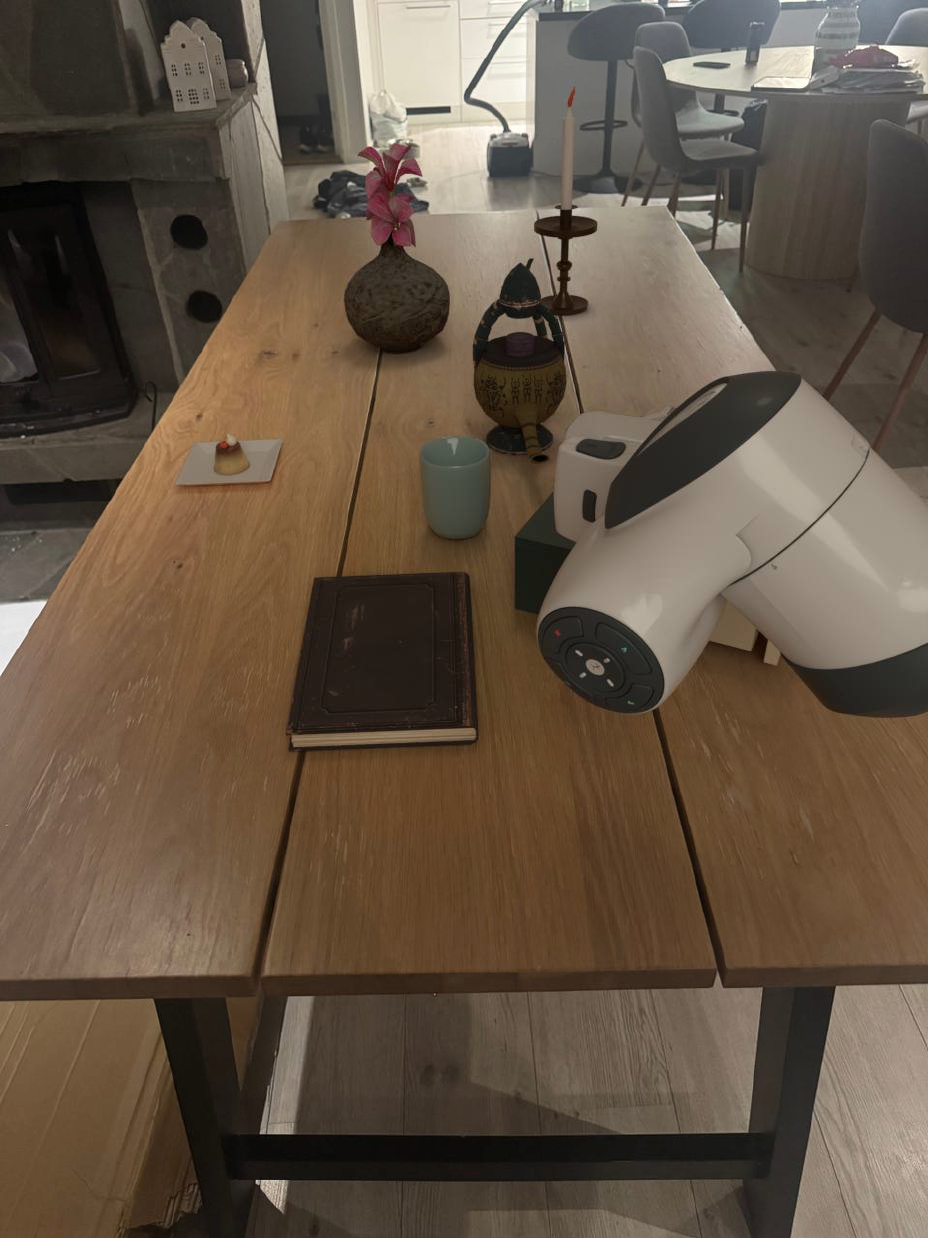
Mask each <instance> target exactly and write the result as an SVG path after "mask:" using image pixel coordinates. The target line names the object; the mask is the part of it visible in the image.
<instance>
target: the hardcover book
mask: <svg viewBox="0 0 928 1238" xmlns="http://www.w3.org/2000/svg"><path fill="white" fill-rule="evenodd" d="M471 590H472V589H471V577H470V575H469V573H467V572H466V571H445V572H444V571H441V572H418V573H395V574H393V573H392V574H391V573H390V574H368V575H345V576H344V575H343V576H342V575H341V576H340V575H339V576H319V577H313V583H312V588H311V593H310V599H309V603H308V608H307V609H308V610H307V614H306V620H305V625H304V631H303V636H302V641H301V646H300V652H299V657H298V658H299V659H298V663H297V667H296V672H295V673H296V674H295V679H294V683H293V690H292V695H291V699H290V706H289V711H288V716H287V721H286V727H285V736H290V740H289V745H288V752H289V753H295V752H317V751H341V750H343V751H344V750H364V749H365V750H366V749H367V750H369V749H393V748H416V747H417V748H419V747H420V748H421V747H441V746H465V745H469V746H470V745H473V744H475V743H476V742H477V741H478V740H479V719H478V718H479V717H478V702H477V685H476V684H477V683H476V666H475V665H476V663H475V647H474V626H473V612H472V611H473V609H472V596H471V595H472V592H471Z"/></svg>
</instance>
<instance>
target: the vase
mask: <svg viewBox="0 0 928 1238" xmlns="http://www.w3.org/2000/svg"><path fill="white" fill-rule="evenodd" d="M412 147H413V145H411V144H408V145H407V146H405V145H404V144H400V143H397V142H393V143H392V144H391V147H390V149H389V153H386V152H384V151H382V154H381V155H380V153H379V152H378V150H377V149H375V148H374V147H373V146H372V145H371V146H366V147H365V148H364V149H362V150H360V152H358V153H357V157H361V158H364V159H366V160H368V161H370V162H371V163H372V164H374V167H373V168H372V170H370V171H369V172H368V173H367V174H366V176H365V179H364V184H365V185H364V186H365V192H366V197H367V199H368V200H367V202H366V210H365V217H366V218H365V221H370V220H371V222H370V224H371V225H370V237H371V238H372V240H373V242H374V243H375V245H376V246H377V247H380V249H379V252H378V254H377V255H376V256H375V257H374V258H373V259H372V260H370V261H369V262H366V264H364V265H363V266H362V267H360V268H359V269H358V270H357V271H356V272H355V273H354V275H353V276H352V277H351V278H350V280H349V282H348V283H347V285H346V287H345V289H344V295H343V296H344V297H343V303H344V310H345V315H346V319H347V321H348V323H349V325H350V326H351V328H352V330H353V331H354V333H355V335H356V336H357V337H359V338H360V339H362V340H364V341H365V342H367V343H369V344H371V345H372V346H374V347H377V348H378V349H379V348H380V350H381V351H382V352H384V353H385V354H389V355H404V354H410V353H414V352H416V351H418V350H420V349H421V347H422V346H423V345H424V344H426V343H428V342H430V341H431V340H434V338H436V337H437V336H438V335H439V334H440V333H442V332H443V331H444V330H445V327H446V324H447V322H448V319H449V315H450V306H451V294H450V289H449V285H448V283H447V282H446V280H445V279H444V278H443V276H442V275H441V274H440V273H438V272H437V270H435V269H434V268H433V267H431V266H430V265H428V264H426V263H424V262H422V261H420V260H418V259H416V258H413V257H412V256H410V255H409V254H408V253H407V251H406V249H405V247H412V246H413V247H414V248H416V247H417V243H416V231H415V225H414V222H413V220H412V219H411V217H412V216H413V214H414V212H415V208H414V207H413V206H412V205H411V204H410V201H412V200H415V199H417V196H415V195H412V194H407V193H403V192H398V193H397V194H395V192H396V191H395V190H396V188H397V185H398V183H399V181H400V179H401V177H403V176H404V175H413V176H418V177H422V178H423V173H422V170H421V168H420V165H419V163H418V161H417V159H416V158H415V157H412V156H410V157H406V159H404V160H403V158H404V156H405V155H406V154H407V153H408V152H409V151H411V148H412ZM402 160H403V161H402ZM399 166H400V167H399Z"/></svg>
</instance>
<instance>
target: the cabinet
mask: <svg viewBox="0 0 928 1238" xmlns="http://www.w3.org/2000/svg"><path fill="white" fill-rule="evenodd" d="M576 543H577V542H575V541H572V540H570V539H568V538H566V537H564V536H562V535H561V534H559V533H558V532H557V530H556V525H555V516H554V490H553V491H552V492H551V493H550V494H549V496H548V497H546V499H545V500H544V501H543V502H542V504H541V505H540V506H539V507H538V508H537V510H536V511H535V512H534V513H533V514H532V515H531V517H530V518H528V520H527V521H526V522H525V524H523V526H522V527H521V528H520V529H519V531H518V532H517V533H516V534H515V535H514V609H515V610H519V611H523V612H526V613H529V614H530V613H531V614H534V615H537V616H539V613H540V609H541V607H542V604H543V602H544V599H545V597H546V595H547V593H548V590H549V588H550V586H551V584H552V582H553V580H554V578H555V577H556V575H557V573H558V571H559V569H560V568H561V566H562V564H563V563H564V561H565V559H566V558H567V556H568V555H569V553H570V552H571V550H572V549H573V547H574V546H575V544H576Z"/></svg>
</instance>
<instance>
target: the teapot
mask: <svg viewBox="0 0 928 1238" xmlns="http://www.w3.org/2000/svg"><path fill="white" fill-rule="evenodd" d="M534 261H535V258H533V257H531V258H529V259H528V260H527V262H526V265H524V263H522V262H521V261H520V262H519V263H517V264H516V265H515V266H514V267H513V268H512V269H510V271H509V272H508V274H507V275H506V276H505V278H504V280H503V284H502V286H501V289H500V293H499V298H497V299H495V301H493V302H492V303H491V304H490V306H489V307H488V308H487V309H486V310H485V312H484V313H483V315H482V317H481V319H480V321H479V323H478V325H477V328H476V331H475V333H474V338H473V343H472V363H473V390H474V395H475V399H476V401H477V402H478V405H479V406H480V408H481V409H482V411H483V413H484V414H485V415H486V416H487V417H489V419H490V420H492V421H493V422H494V423H496V426H495V427H493V428H492V429H491V430H489V432H487V434H486V436H485V443H486V444H487V446H488V447H489V450H491V451H493V452H494V453H498V454H500V455H504V456H511V457H528V460H529V461H530V463H532V464H535V465H536V464H537V465H540V464H546V463H547V462H549V461H550V460H551V456H550V455H549V454H546V453H544V452H546V451H547V450H549V449H550V448H551V447H552V446H553V445H554V435H553V433H552V432H551V430H550V429H548V428H547V427H545V426H544V425H543V423H544V422H545V421H547V420H548V419H550V418H551V417H552V416H553V415H554V414H555V413H556V411H557V410H558V408H559V406H560V405H561V403H562V401H563V400H564V398H565V393H566V389H567V367H566V365H565V355H566V354H565V350H566V349H565V348H566V341H565V340H564V331H562V329H561V325H560V322H559V318H556V315H553V314H552V312H551V311H550V309H549V308H546V307H545V306H543V305H542V304H541V303H540V302H541V299H542V294H541V290H540V285H539V283H538V281H537V278H536V276H535V275H534V273H533V272H532V270H531V268H532V267H531V266H532V264H533V262H534ZM503 315H506V317H508V318H510V319H515V320H525V319H531V318H532V321H533V324H534V326H535V331H536V335H534V334H533V333H531V332H527V331H515V332H511V333H508V334H506V335H502V336H499V337H494V338H492V339H490V338H489V336H490V333H491V332H492V330H493V328H492V327H493V326H494V325H495V323H496V322H497V321H498V319H499V318H500V317H502V316H503ZM545 321H546V322H547V325H548V328H549V330H550V336H551V338H552V339H550V338H549V336H548V330H547V326H546V322H545ZM489 339H490V340H489Z"/></svg>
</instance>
